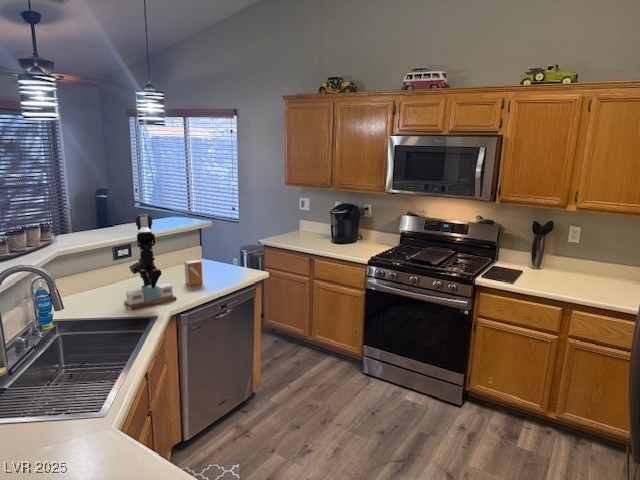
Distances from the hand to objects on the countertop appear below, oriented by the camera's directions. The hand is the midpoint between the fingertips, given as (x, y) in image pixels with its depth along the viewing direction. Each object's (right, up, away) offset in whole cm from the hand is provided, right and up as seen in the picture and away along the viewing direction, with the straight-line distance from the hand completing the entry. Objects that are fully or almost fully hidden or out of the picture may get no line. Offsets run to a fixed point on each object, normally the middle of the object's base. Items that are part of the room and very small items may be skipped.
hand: (149, 286), depth 223 cm
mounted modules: (0, -6, +1) cm, 6 cm away
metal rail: (0, -7, +1) cm, 7 cm away
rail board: (0, -8, +2) cm, 8 cm away
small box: (+13, -2, +32) cm, 35 cm away
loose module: (0, -6, +1) cm, 6 cm away
